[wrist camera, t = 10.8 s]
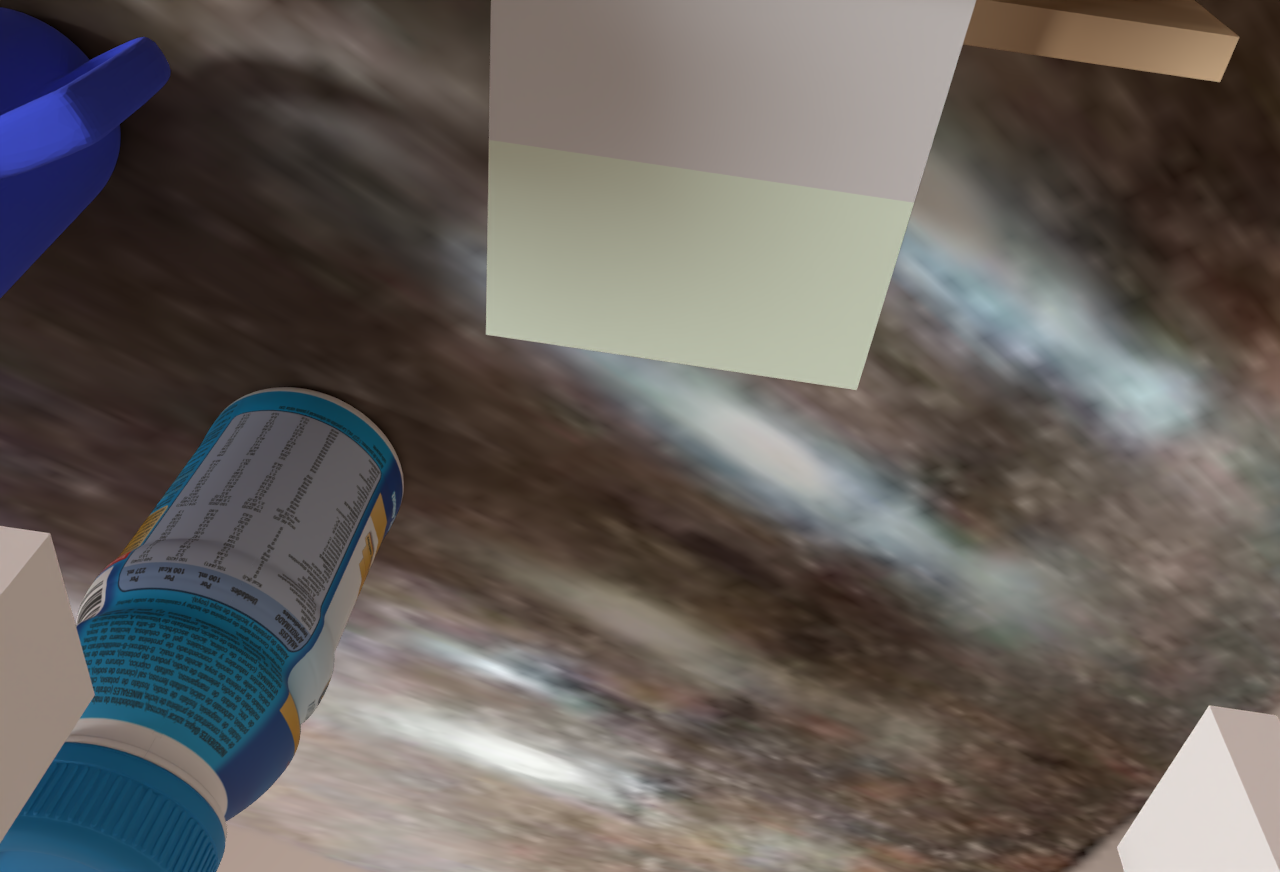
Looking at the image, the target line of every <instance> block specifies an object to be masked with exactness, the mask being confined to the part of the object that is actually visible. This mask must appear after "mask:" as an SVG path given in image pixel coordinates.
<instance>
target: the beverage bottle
mask: <svg viewBox="0 0 1280 872" xmlns="http://www.w3.org/2000/svg"><path fill="white" fill-rule="evenodd" d="M403 491H404V480H403V472H402V468H401V464H400V461H399V459H398V456H397V454H396V452H395V450H394V448H393V446H392V445H391V443H390V442H389V440H388V439H387V437H386V436H385V435H384V433H383V432H382V431H381V430H380V429H379V428H378V427H377V426H376V425H375V424H374V423H373V422H372V421H371V420H370V419H369V418H368V417H366V416H365V415H364V414H363V413H361V412H360V411H358V410H357V409H355V408H354V407H352V406H351V405H349V404H347V403H345V402H343V401H341V400H339V399H337V398H335V397H332V396H330V395H327V394H324V393H321V392H317V391H313V390H309V389H303V388H294V387H276V388H268V389H263V390H259V391H255V392H252V393H250V394H247V395H245V396H243V397H241V398H239V399H238V400H236V401H234V402H233V403H232V404H230V405H229V406H228V407H227V408H226V409H225V410H224V411H223V412H222V413H221V414H220V415H219V417H218V418H217V419H216V421H215V422H214V423H213V425H212V426H211V428H210V429H209V431H208V433H207V434H206V436H205V438H204V440H203V442H202V444H201V445H200V446H199V448H198V449H197V451H196V452H195V453H194V455H193V456H192V458H191V459H190V460H189V462H188V463H187V464H186V466H185V467H184V469H183V470H182V471H181V473H180V474H179V475H178V477H177V478H176V480H175V481H174V482H173V484H172V485H171V486H170V488H169V489H168V491H167V492H166V493H165V495H164V496H163V497H162V499H161V500H160V501H159V503H158V504H157V506H156V507H155V508H154V510H153V511H152V512H151V514H150V515H149V516H148V518H147V519H146V521H145V522H144V523H143V525H142V526H141V527H140V529H139V530H138V531H137V533H136V534H135V536H134V537H133V538H132V540H131V541H130V542H129V544H128V545H127V546H126V548H125V549H124V550H123V552H122V553H121V555H120V556H119V557H118V558H117V559H115V560H114V561H113V562H111V563H110V564H109V565H108V566H107V567H106V568H105V569H104V570H103V571H102V572H101V573H100V574H99V575H98V577H97V578H96V579H95V581H94V582H93V584H92V585H91V587H90V588H89V590H88V592H87V593H86V595H85V597H84V599H83V601H82V603H81V605H80V608H79V611H78V615H77V620H76V628H77V632H78V635H79V639H80V643H81V646H82V650H83V654H84V657H85V661H86V664H87V668H88V672H89V675H90V679H91V683H92V686H93V690H94V693H95V695H94V697H93V699H92V700H91V702H90V703H89V705H88V706H87V708H86V710H85V711H84V713H83V714H82V716H81V717H80V719H79V720H78V722H77V724H76V725H75V727H74V728H73V730H72V731H71V733H70V735H69V736H68V738H67V739H66V741H65V742H64V744H63V746H62V747H61V749H60V750H59V752H58V753H57V755H56V757H55V758H54V760H53V761H52V763H51V764H50V766H49V767H48V769H47V771H46V772H45V774H44V775H43V777H42V778H41V780H40V782H39V783H38V785H37V786H36V788H35V789H34V791H33V793H32V794H31V796H30V797H29V799H28V800H27V802H26V803H25V805H24V807H23V808H22V810H21V811H20V813H19V814H18V816H17V818H16V819H15V821H14V822H13V824H12V825H11V827H10V829H9V830H8V832H7V833H6V835H5V836H4V838H3V840H2V841H1V843H0V872H216V871H217V869H218V866H219V864H220V862H221V859H222V857H223V853H224V849H225V841H226V835H227V826H226V821H228V820H229V819H231V818H232V817H234V816H235V815H237V814H238V813H240V812H241V811H243V810H244V809H245V808H247V807H248V806H249V805H251V804H252V803H253V802H254V801H256V800H257V799H258V798H259V797H260V796H261V795H263V794H264V793H265V792H266V791H267V790H268V789H269V788H270V787H271V786H272V785H273V783H274V782H275V781H276V780H277V779H278V778H279V777H280V775H281V774H282V773H283V772H284V770H285V769H286V768H287V766H288V765H289V763H290V762H291V760H292V758H293V756H294V754H295V752H296V750H297V747H298V744H299V740H300V732H301V724H302V723H304V722H305V721H306V720H307V719H308V718H309V717H310V716H311V714H312V713H313V712H314V711H315V709H316V708H317V706H318V705H319V703H320V701H321V699H322V697H323V696H324V694H325V692H326V689H327V687H328V685H329V682H330V680H331V677H332V673H333V668H334V653H335V650H336V648H337V645H338V643H339V641H340V638H341V636H342V634H343V631H344V629H345V626H346V624H347V622H348V619H349V617H350V614H351V612H352V610H353V607H354V605H355V603H356V600H357V598H358V596H359V593H360V591H361V588H362V586H363V584H364V581H365V579H366V577H367V574H368V572H369V570H370V567H371V565H372V563H373V560H374V558H375V556H376V554H377V551H378V549H379V547H380V545H381V543H382V541H383V539H384V537H385V536H386V534H387V533H388V531H389V529H390V528H391V526H392V524H393V522H394V520H395V518H396V515H397V513H398V511H399V508H400V505H401V502H402V498H403Z"/></svg>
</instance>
